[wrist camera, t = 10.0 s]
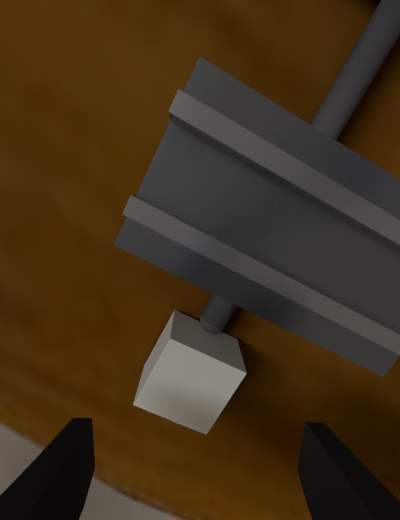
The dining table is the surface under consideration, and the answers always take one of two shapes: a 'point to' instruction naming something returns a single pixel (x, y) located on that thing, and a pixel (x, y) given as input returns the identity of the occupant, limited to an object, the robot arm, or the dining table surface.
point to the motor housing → (273, 219)
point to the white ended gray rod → (220, 310)
